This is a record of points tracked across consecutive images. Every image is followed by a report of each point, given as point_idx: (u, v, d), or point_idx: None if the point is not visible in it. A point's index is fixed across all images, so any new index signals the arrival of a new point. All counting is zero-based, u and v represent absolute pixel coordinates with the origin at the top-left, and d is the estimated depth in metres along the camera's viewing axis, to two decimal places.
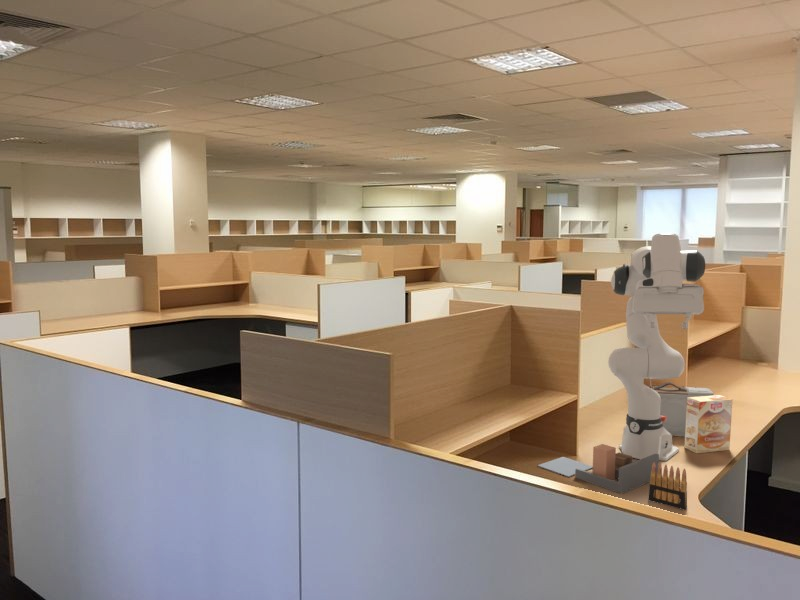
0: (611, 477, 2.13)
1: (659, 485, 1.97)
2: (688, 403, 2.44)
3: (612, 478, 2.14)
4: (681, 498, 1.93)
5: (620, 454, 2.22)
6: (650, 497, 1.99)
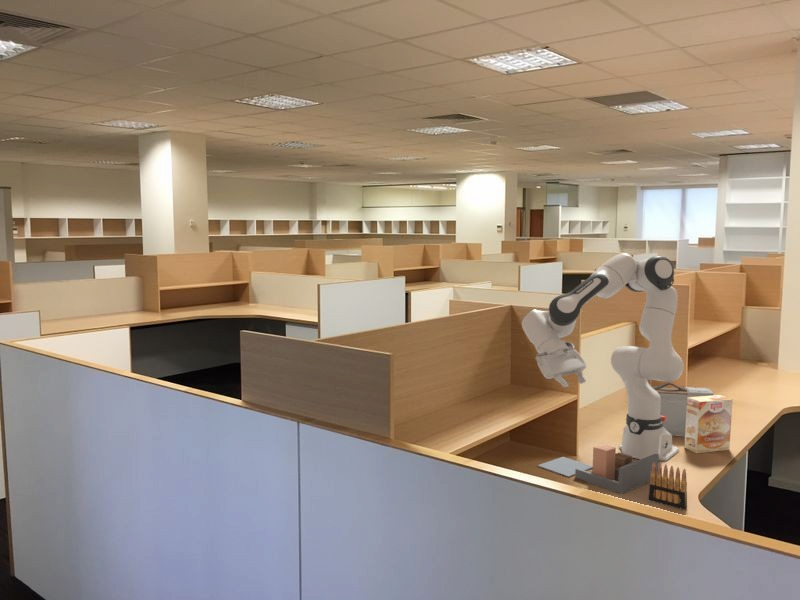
0: (611, 477, 2.13)
1: (659, 485, 1.97)
2: (688, 403, 2.44)
3: (612, 478, 2.14)
4: (681, 498, 1.93)
5: (620, 454, 2.22)
6: (650, 497, 1.99)
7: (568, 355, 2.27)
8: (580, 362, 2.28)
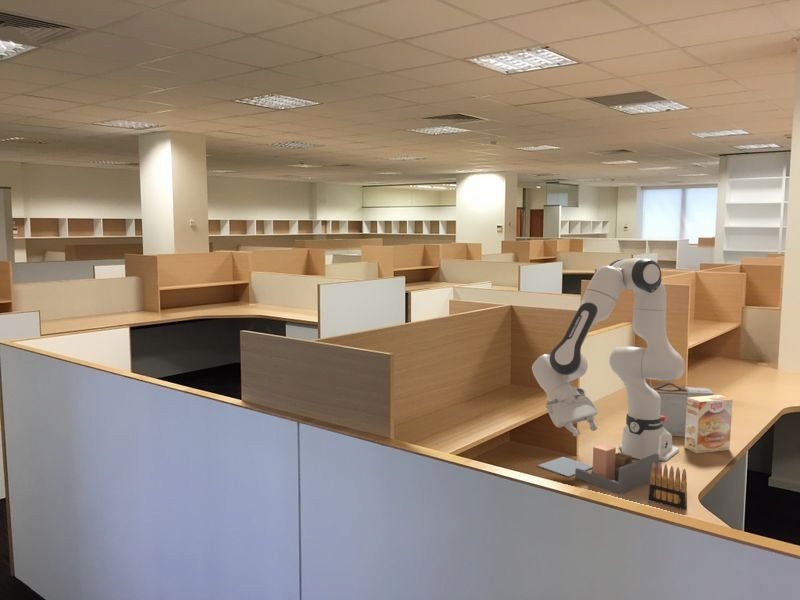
0: (611, 477, 2.13)
1: (659, 485, 1.97)
2: (688, 403, 2.44)
3: (612, 478, 2.14)
4: (681, 498, 1.93)
5: (620, 454, 2.22)
6: (650, 497, 1.99)
7: (579, 401, 2.25)
8: (591, 408, 2.26)
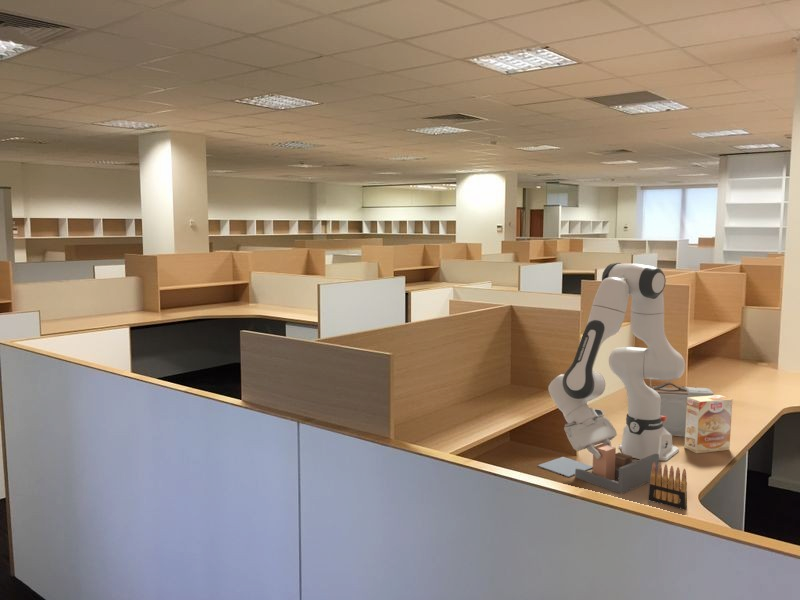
0: (611, 477, 2.13)
1: (659, 485, 1.97)
2: (688, 403, 2.44)
3: (612, 478, 2.14)
4: (681, 498, 1.93)
5: (620, 454, 2.22)
6: (650, 497, 1.99)
7: (598, 423, 2.20)
8: (610, 430, 2.20)
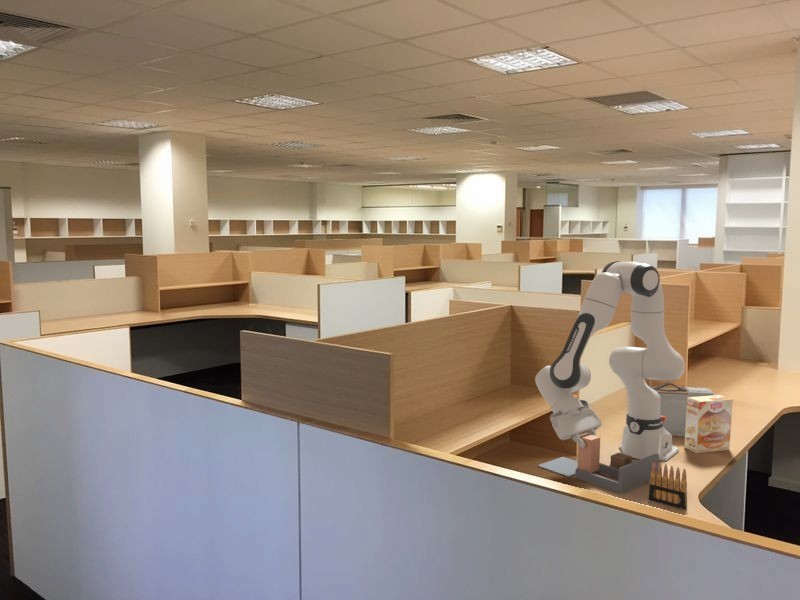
0: (596, 466, 2.18)
1: (659, 485, 1.97)
2: (688, 403, 2.44)
3: (597, 467, 2.18)
4: (681, 498, 1.93)
5: (620, 454, 2.22)
6: (650, 497, 1.99)
7: (583, 413, 2.24)
8: (595, 420, 2.25)
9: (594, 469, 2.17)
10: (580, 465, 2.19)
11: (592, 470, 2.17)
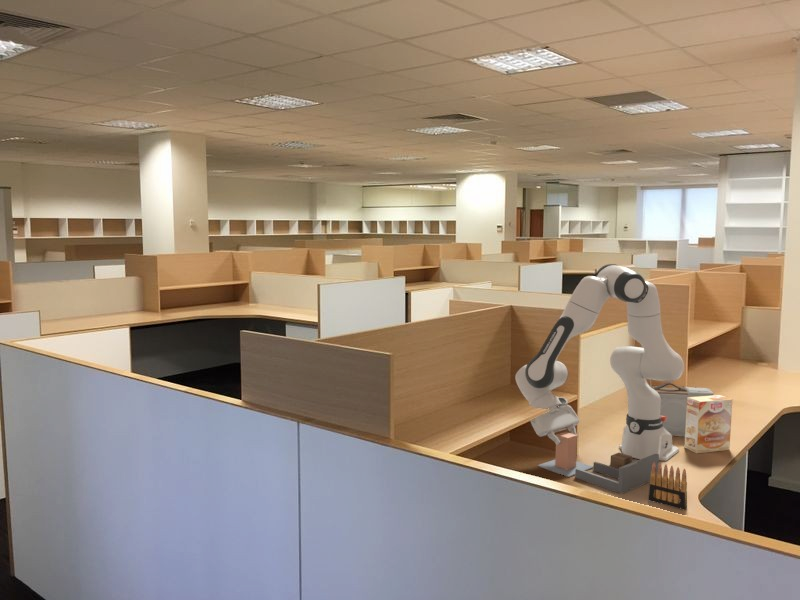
0: (573, 463, 2.25)
1: (659, 485, 1.97)
2: (688, 403, 2.44)
3: (574, 464, 2.25)
4: (681, 498, 1.93)
5: (620, 454, 2.22)
6: (650, 497, 1.99)
7: (561, 411, 2.31)
8: (573, 417, 2.32)
9: (571, 466, 2.25)
10: (557, 462, 2.26)
11: (569, 467, 2.24)
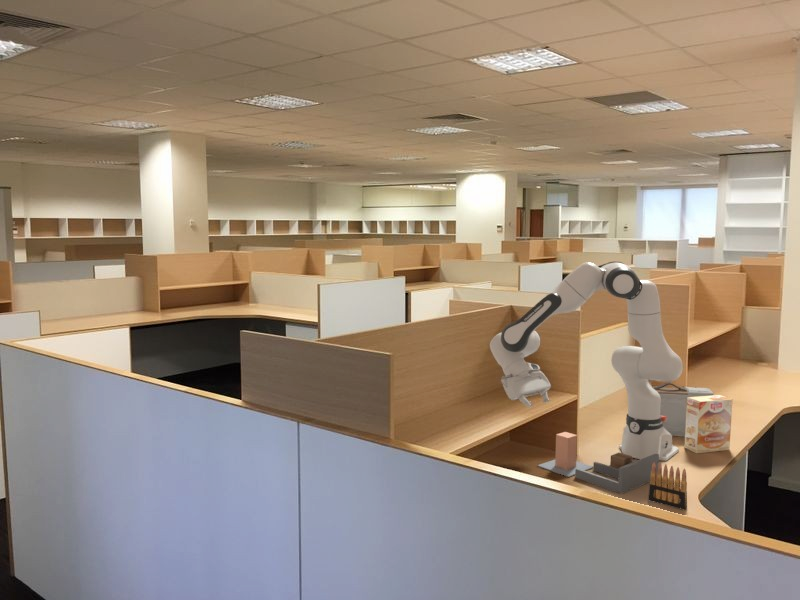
0: (573, 463, 2.25)
1: (659, 485, 1.97)
2: (688, 403, 2.44)
3: (574, 464, 2.25)
4: (681, 498, 1.93)
5: (620, 454, 2.22)
6: (650, 497, 1.99)
7: (533, 376, 2.40)
8: (544, 382, 2.41)
9: (571, 466, 2.25)
10: (557, 462, 2.26)
11: (569, 467, 2.24)
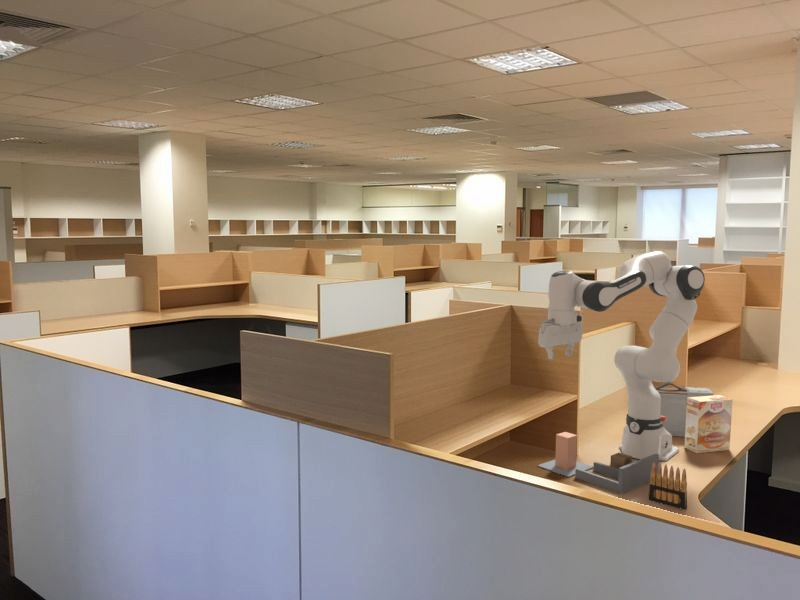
0: (573, 463, 2.25)
1: (659, 485, 1.97)
2: (688, 403, 2.44)
3: (574, 464, 2.25)
4: (681, 498, 1.93)
5: (620, 454, 2.22)
6: (650, 497, 1.99)
7: (571, 327, 2.29)
8: (577, 336, 2.32)
9: (571, 466, 2.25)
10: (557, 462, 2.26)
11: (569, 467, 2.24)
